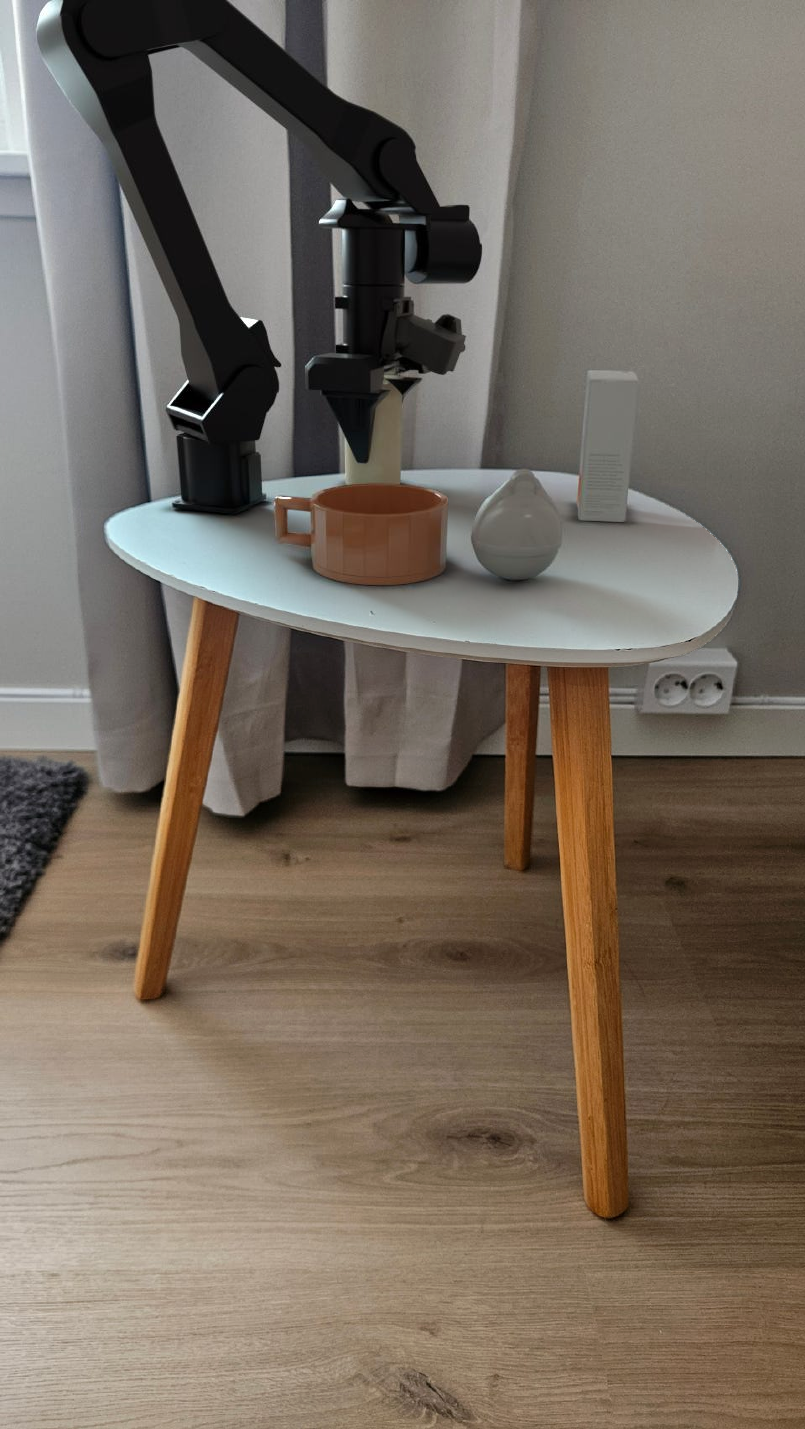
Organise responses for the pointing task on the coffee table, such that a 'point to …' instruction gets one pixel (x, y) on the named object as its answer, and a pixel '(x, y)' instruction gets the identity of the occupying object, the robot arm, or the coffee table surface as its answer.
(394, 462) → the candle
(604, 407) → the cosmetic box
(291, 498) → the coffee cup
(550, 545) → the grey teardrop shape
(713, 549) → the coffee table surface
